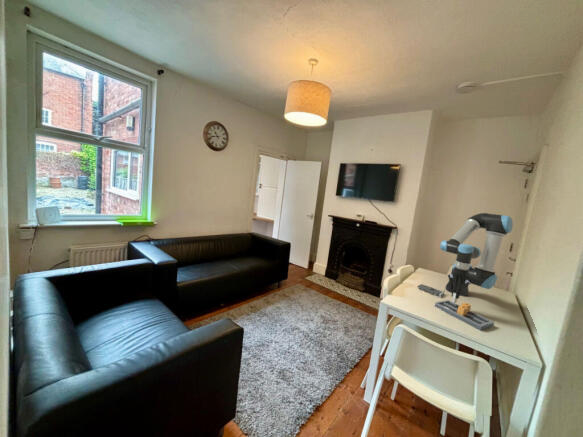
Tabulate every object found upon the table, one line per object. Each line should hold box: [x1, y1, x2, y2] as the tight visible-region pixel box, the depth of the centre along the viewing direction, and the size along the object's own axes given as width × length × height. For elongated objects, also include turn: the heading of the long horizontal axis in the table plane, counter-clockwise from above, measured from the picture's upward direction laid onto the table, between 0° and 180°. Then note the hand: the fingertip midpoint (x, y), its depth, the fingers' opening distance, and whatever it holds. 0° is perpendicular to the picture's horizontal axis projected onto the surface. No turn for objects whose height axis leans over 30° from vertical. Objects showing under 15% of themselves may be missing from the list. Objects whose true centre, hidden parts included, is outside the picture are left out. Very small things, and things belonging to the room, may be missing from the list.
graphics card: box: [416, 283, 446, 298], centre depth 175 cm, size 17×4×12 cm
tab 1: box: [457, 305, 468, 316], centre depth 139 cm, size 4×3×5 cm
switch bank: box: [434, 299, 495, 331], centre depth 142 cm, size 14×26×3 cm, turn 25°
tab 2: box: [460, 302, 472, 312], centre depth 143 cm, size 4×3×5 cm
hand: (453, 302), depth 150 cm, fingers closed
